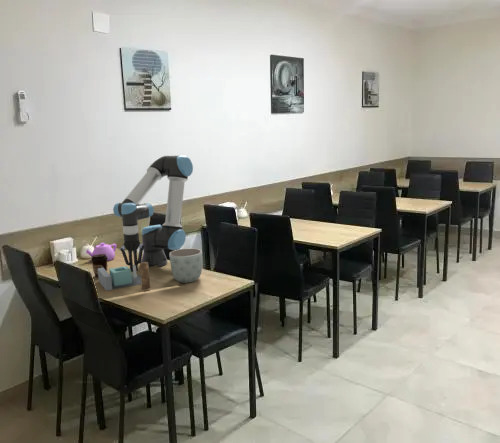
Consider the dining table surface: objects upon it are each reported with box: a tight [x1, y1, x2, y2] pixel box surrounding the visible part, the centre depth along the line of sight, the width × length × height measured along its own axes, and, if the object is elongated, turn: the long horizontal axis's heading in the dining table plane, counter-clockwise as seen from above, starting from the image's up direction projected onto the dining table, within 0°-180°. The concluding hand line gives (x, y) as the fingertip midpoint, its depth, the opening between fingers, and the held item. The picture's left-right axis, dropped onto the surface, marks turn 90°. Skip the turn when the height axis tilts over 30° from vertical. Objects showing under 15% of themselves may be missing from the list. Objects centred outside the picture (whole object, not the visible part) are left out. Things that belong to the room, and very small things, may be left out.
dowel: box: [139, 262, 151, 292], centre depth 240 cm, size 4×4×14 cm
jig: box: [98, 268, 142, 292], centre depth 251 cm, size 21×18×8 cm
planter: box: [168, 247, 203, 284], centre depth 253 cm, size 17×17×15 cm
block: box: [109, 265, 133, 287], centre depth 250 cm, size 9×9×7 cm
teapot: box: [85, 242, 118, 262], centre depth 301 cm, size 14×20×11 cm
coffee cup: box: [90, 254, 108, 279], centre depth 262 cm, size 9×8×13 cm
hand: (134, 277), depth 254 cm, fingers closed
